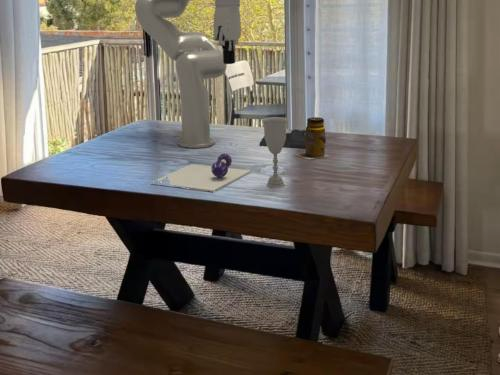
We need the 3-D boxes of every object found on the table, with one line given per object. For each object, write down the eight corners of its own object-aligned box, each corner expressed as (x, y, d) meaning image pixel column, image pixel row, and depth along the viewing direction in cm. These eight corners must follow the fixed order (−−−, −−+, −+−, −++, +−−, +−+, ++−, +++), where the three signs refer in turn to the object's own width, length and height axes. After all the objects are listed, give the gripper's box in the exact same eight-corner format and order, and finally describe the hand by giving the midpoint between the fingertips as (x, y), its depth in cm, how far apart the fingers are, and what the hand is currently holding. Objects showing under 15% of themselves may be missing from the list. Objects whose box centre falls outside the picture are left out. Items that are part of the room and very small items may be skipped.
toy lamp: (233, 154, 200) (226, 163, 184) (232, 169, 201) (225, 180, 185) (217, 153, 201) (209, 162, 185) (217, 168, 202) (208, 179, 186)
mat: (150, 184, 185) (150, 182, 185) (192, 165, 204) (191, 163, 204) (213, 192, 177) (213, 190, 177) (250, 172, 196) (250, 170, 195)
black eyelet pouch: (269, 138, 243) (269, 125, 241) (329, 141, 236) (329, 128, 234) (256, 147, 229) (255, 133, 228) (319, 151, 222) (319, 137, 221)
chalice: (261, 181, 186) (260, 117, 181) (286, 180, 186) (285, 116, 181) (264, 189, 179) (263, 122, 174) (289, 188, 180) (289, 121, 174)
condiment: (330, 156, 213) (330, 118, 210) (309, 160, 209) (309, 122, 205) (315, 152, 219) (316, 115, 216) (295, 155, 215) (295, 118, 211)
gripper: (228, 2, 213) (229, 60, 218) (204, 3, 200) (206, 65, 205) (249, 1, 209) (250, 61, 215) (226, 3, 197) (228, 66, 202)
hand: (229, 63), depth 210 cm, fingers closed
